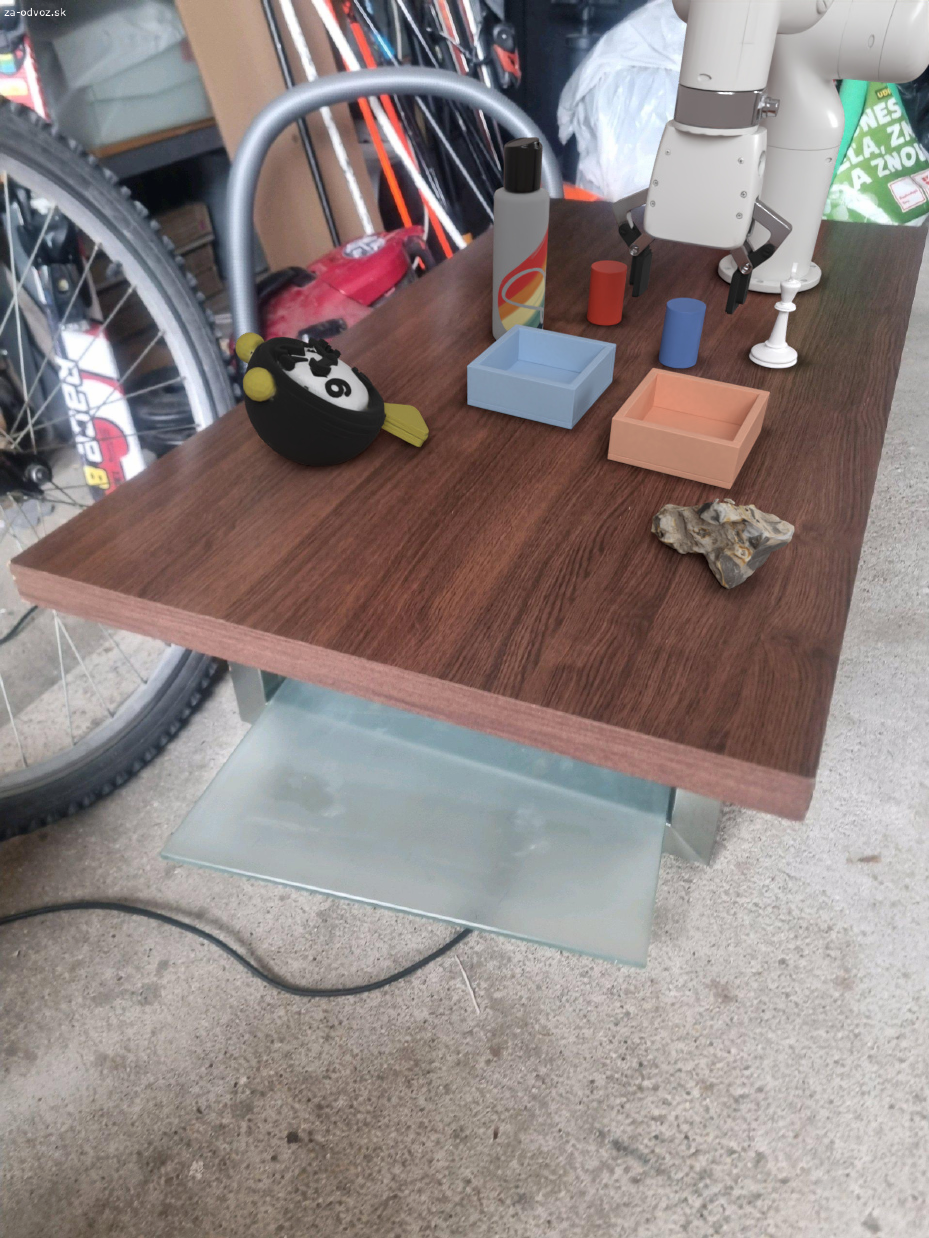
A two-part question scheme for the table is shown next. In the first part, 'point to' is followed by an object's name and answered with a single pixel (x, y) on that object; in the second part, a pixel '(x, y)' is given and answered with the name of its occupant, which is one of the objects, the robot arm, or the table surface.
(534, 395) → the blue bin
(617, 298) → the red peg
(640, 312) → the table surface
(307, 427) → the alarm clock
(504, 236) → the lotion bottle
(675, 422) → the orange bin
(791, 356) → the chess piece
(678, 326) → the blue peg
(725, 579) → the rock
